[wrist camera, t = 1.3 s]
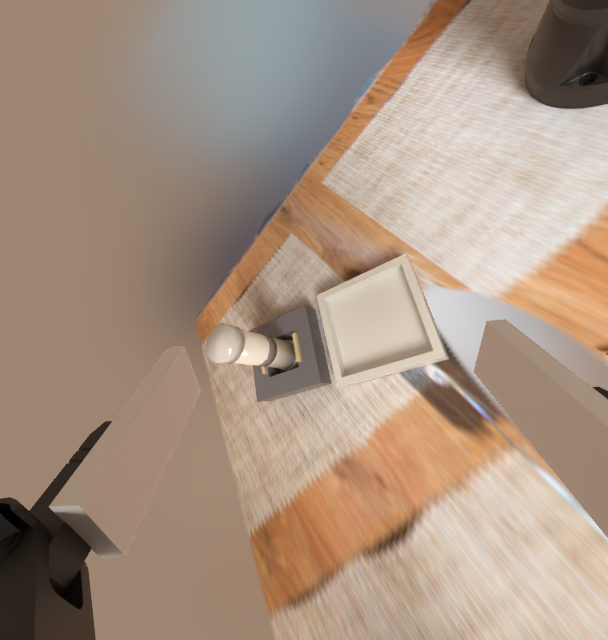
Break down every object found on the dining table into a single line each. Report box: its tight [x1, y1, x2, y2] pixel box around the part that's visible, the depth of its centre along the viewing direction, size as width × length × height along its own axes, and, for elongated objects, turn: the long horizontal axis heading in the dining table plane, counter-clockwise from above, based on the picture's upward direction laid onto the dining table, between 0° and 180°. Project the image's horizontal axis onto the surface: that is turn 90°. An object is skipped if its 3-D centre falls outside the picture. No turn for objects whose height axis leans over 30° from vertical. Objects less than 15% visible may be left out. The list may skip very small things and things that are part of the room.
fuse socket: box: [249, 306, 331, 402], centre depth 44 cm, size 12×12×4 cm
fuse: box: [207, 323, 299, 371], centre depth 40 cm, size 5×5×15 cm
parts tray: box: [316, 253, 449, 387], centre depth 38 cm, size 14×14×2 cm
